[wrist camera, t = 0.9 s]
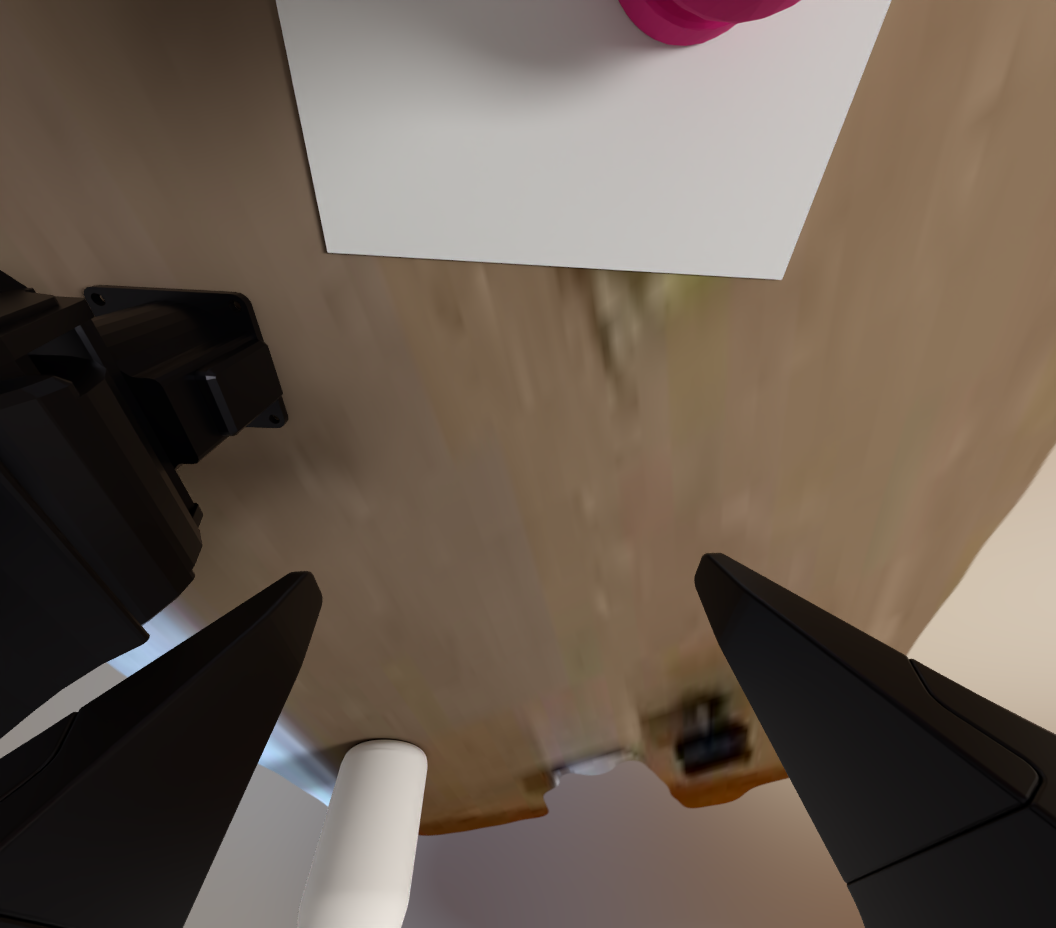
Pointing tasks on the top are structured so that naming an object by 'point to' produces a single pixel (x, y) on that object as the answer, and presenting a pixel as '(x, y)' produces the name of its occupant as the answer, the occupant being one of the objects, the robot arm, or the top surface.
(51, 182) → the top surface
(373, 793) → the wine bottle
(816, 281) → the top surface
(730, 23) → the pepper mill
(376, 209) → the rubber mat
